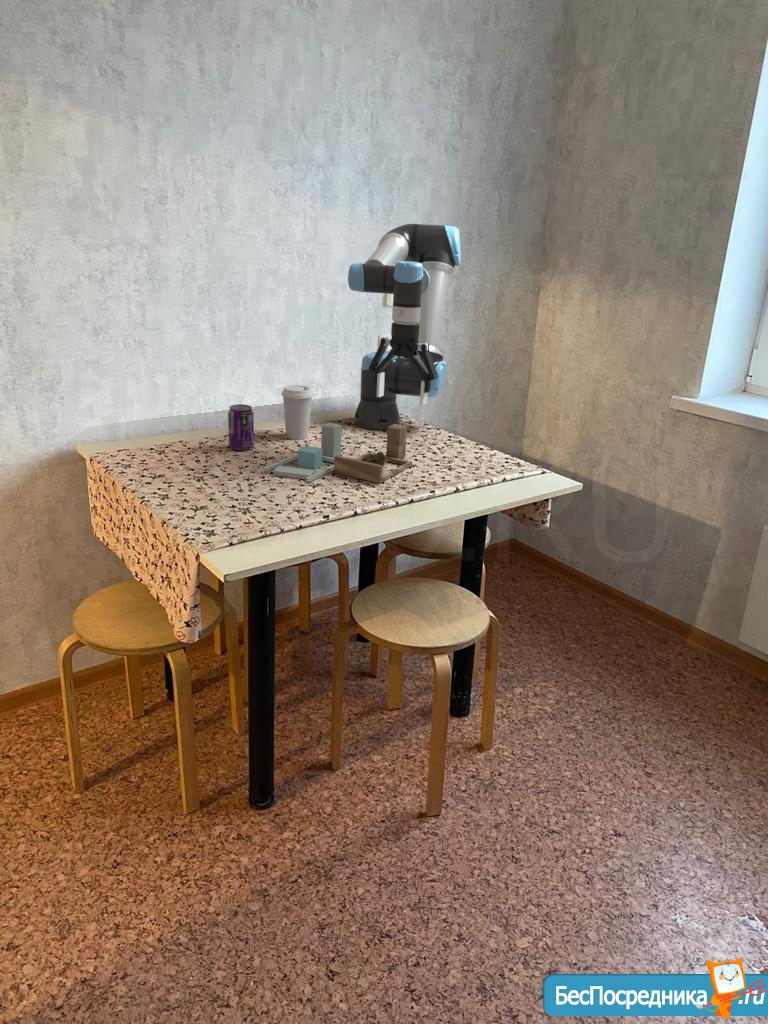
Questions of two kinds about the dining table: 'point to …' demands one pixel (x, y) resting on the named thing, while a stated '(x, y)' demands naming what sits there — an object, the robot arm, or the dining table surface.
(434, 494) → the dining table surface
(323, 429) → the grey open frame
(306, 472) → the grey rectangular block
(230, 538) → the dining table surface
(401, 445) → the brown open frame
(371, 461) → the rock sample
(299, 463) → the teal block
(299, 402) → the coffee cup
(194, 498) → the dining table surface
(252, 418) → the beverage can
